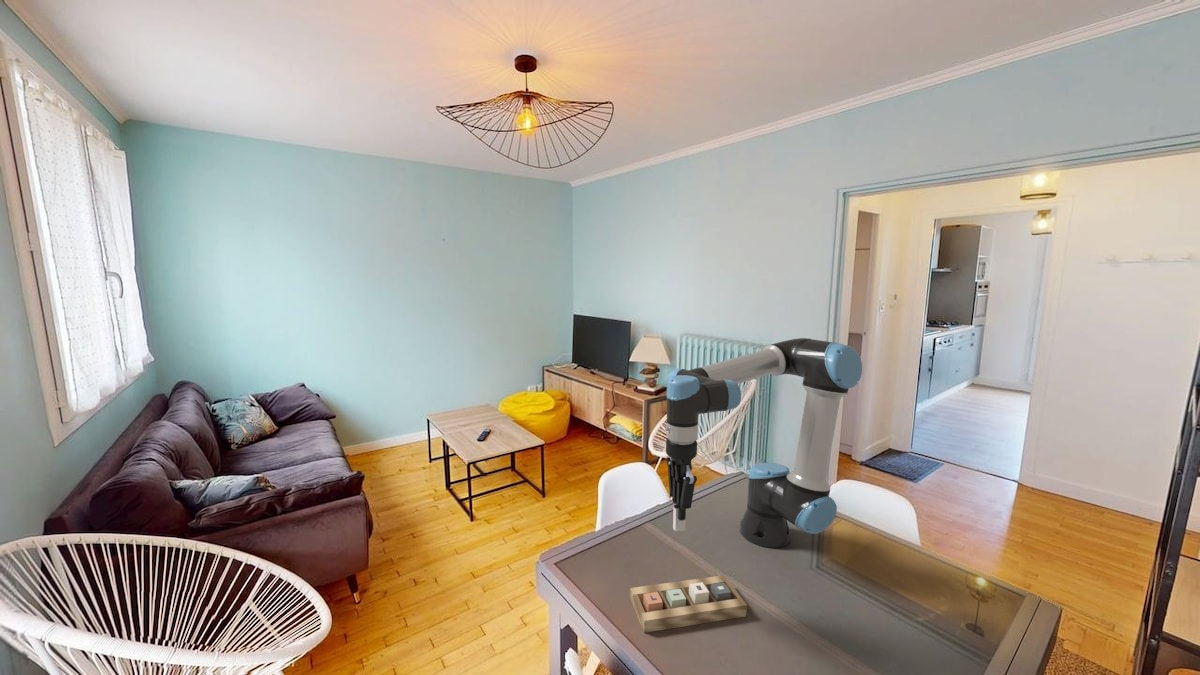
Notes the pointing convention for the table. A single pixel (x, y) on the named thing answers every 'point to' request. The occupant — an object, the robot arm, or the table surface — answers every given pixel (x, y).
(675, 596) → the sage key
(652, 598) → the terracotta key
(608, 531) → the table surface
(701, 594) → the cream key
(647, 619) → the keypad frame
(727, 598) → the charcoal key
